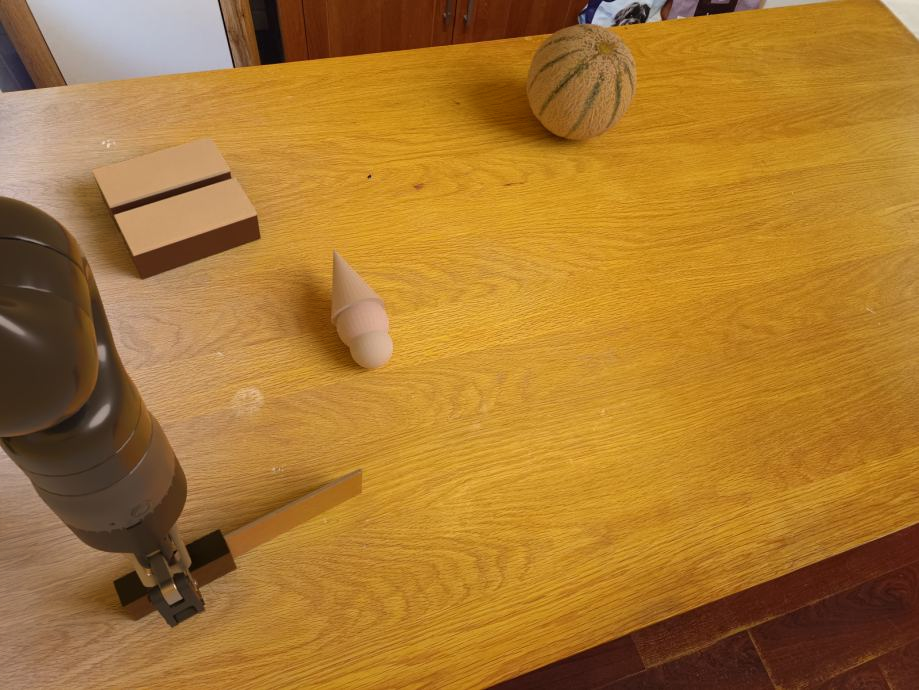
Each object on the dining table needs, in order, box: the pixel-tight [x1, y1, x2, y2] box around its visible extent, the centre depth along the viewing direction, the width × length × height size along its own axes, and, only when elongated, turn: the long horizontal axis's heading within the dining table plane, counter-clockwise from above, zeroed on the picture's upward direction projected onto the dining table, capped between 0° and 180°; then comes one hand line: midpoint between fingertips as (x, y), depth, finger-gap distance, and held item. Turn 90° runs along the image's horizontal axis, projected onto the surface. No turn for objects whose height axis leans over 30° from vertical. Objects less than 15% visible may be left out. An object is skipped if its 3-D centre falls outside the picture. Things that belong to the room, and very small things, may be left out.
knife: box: [112, 468, 363, 622], centre depth 65 cm, size 22×2×5 cm, turn 122°
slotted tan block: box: [91, 136, 261, 280], centre depth 86 cm, size 14×14×4 cm
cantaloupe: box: [525, 23, 638, 142], centre depth 100 cm, size 15×15×15 cm
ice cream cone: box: [330, 248, 394, 370], centre depth 80 cm, size 6×6×15 cm
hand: (168, 554), depth 59 cm, fingers open, 8 cm apart
